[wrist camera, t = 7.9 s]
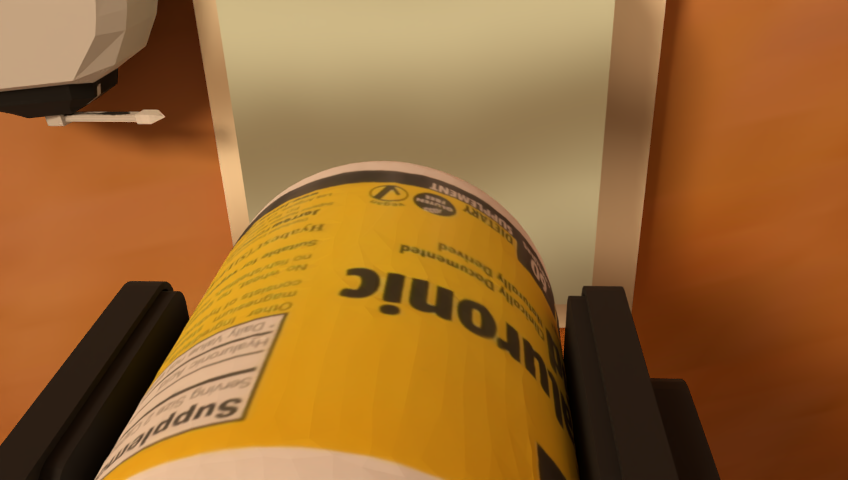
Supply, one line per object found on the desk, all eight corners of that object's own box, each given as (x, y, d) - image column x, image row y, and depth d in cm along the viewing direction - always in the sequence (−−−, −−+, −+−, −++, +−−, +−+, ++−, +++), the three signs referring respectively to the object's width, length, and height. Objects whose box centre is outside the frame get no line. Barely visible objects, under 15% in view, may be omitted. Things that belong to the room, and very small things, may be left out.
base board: (622, 304, 28) (652, 407, 23) (257, 300, 28) (210, 399, 24) (678, -229, 20) (740, -243, 15) (178, -209, 21) (86, -217, 16)
